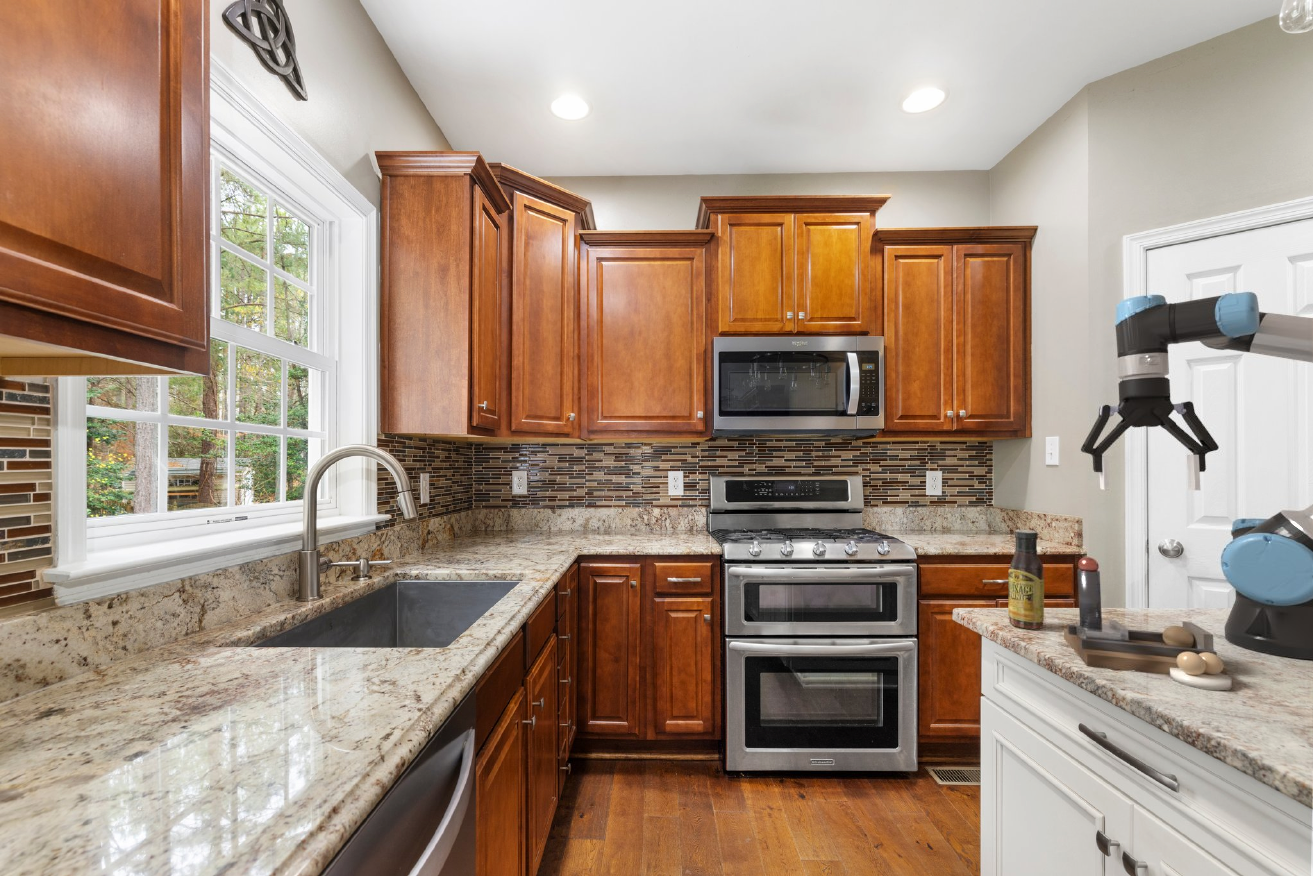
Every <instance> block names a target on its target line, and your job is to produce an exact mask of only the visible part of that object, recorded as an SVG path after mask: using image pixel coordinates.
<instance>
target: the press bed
mask: <svg viewBox="0 0 1313 876" xmlns="http://www.w3.org/2000/svg"><path fill="white" fill-rule="evenodd" d="M1181 622H1182V623H1181V624H1182V627H1183V628H1185V629H1187V630H1188V631H1189V632H1190V633H1191V634H1192V635H1193V638H1194V644H1193V646H1192V647H1191V648H1186V647H1175V646H1168V645H1167V644H1166V643H1165V641H1164V640H1163V632H1161V631H1160V632H1159V631H1150V630H1149V631H1148V630H1135V629H1128V641H1129V642H1119V641H1108V640H1097V639H1086V638H1080V637H1079V636H1078V635H1077V629H1076V624H1067V628H1063V639H1064V640H1065V642H1066V643H1067V644H1068V645H1069V646H1070V648H1071V649H1072V650H1073V649H1074V650H1073V652H1075V654H1076V655H1077V656H1078V657H1079V658H1080V659H1081V660H1082V661H1083V663H1084V664H1085V665H1086V666H1087V667H1092V668H1100V667H1101V669H1102V668H1103V669H1111V670H1119V669H1122V670H1121V671H1129V670H1135V671H1134V672H1138V671H1140V673H1148V672H1149V674H1157V675H1158V674H1159V675H1167V674H1170V668H1171V667H1172V668H1179V667H1178V665H1177V662H1176V659H1177V656H1178V655H1179V654H1180V653H1183V652H1193V653H1196V654H1200V653H1203V652H1209V653H1213V654H1215V655H1217V656H1218V652H1217V651H1216V650H1214V649H1215V647H1214V634H1213V633H1211V632H1209V631H1208V630H1206V629H1204V628H1202V627H1200V626H1199V625H1197V624H1195V623H1194V622H1192V621H1184V620H1182V621H1181ZM1227 669H1228V668H1227V666H1224V667H1223V670H1222V671H1221V672H1220V673H1221V674H1224V675H1226V676H1228V670H1227ZM1150 672H1151V673H1150Z"/></svg>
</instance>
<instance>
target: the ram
mask: <svg viewBox="0 0 1313 876" xmlns="http://www.w3.org/2000/svg"><path fill="white" fill-rule="evenodd" d="M1077 567H1078V569H1077V584H1078V585H1077V586H1078V607H1079V608H1078V610H1079V612H1078V613H1079V614H1078V615H1079V620H1078V621H1077V620H1076V621H1075V625H1076V629H1077V635H1078V636H1079V637H1080V638H1086V639H1097V640H1108V641H1119V642H1129V641H1128V630H1129V629H1128V628H1126V627H1125V626H1124V625H1123V624H1122V623H1120V622H1119V621H1118V620H1117V619H1108V623H1103V618H1102V617H1103V615H1102V592H1101V591H1102V590H1101V572H1100V570H1099V569H1100V565H1099V562H1098V561H1097V560H1096V559H1094V558H1093V557H1090V556H1084V557H1081V558H1080V559H1079V561H1078V563H1077Z"/></svg>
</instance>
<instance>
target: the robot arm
mask: <svg viewBox="0 0 1313 876" xmlns="http://www.w3.org/2000/svg"><path fill="white" fill-rule="evenodd" d="M1115 310H1116V312H1115V315H1116V316H1115V324H1114V327H1115V333H1116V334H1115V336H1116V339H1115V340H1116V350H1117V351H1116V352H1117V354H1116V355H1117V358H1116V359H1117V378H1118V379H1120V381H1119V382H1118V405H1116V406H1115V405H1114V406H1113V405H1109V404H1104V405H1101V406H1099V407H1098V408H1099V410H1098V416H1097V419H1096V421H1095V423H1094V424H1093V426H1092V428H1091V430H1090V431H1089V433H1088V435H1087V437H1086V438H1085V440H1084V442H1083V443H1082V446H1081V448H1080V451H1081V452H1082V453H1085V454H1088V455H1091V457H1092V468H1093V469H1092V470H1093V471H1094V473H1099V489H1100V490H1105V491H1109V490H1110V476H1109V457H1108V455H1103V454H1104V453H1105V452H1107V450H1108V449H1110V447H1111V446H1112V445H1113V444H1114V443H1115V442H1116V441H1117V440H1118V439H1119V438H1120V437H1121V436H1122V435H1123V434H1124V433H1125V432H1126V431H1127V430H1128V429H1130V427H1133V428H1143V427H1146V428H1155V427H1157V428H1158V427H1159V426H1160V427H1161V428H1162V429H1164V430H1165V431H1166V432H1168V433H1169V434H1170V435H1171V436H1173V437H1174V438H1175V439H1176V440H1177V441H1178V442H1179V443H1181V444H1182V445H1183V446H1184V447H1185V448H1186V449H1187V450H1188V451H1190V452H1191V453H1192V454H1186V460H1187V461H1186V462H1187V463H1186V465H1187V481H1188V483H1187V484H1188V490H1189V491H1201V476H1200V475H1201V474H1200V473H1205V472H1206V469H1207V466H1206V465H1207V464H1206V455H1207V454H1208V453H1211V452H1215V451H1218V450H1219V448H1220V447H1219V445H1218V443H1217V442H1216V441H1215V439H1214V438H1213V437H1212V435H1211V433H1210V432H1209V431H1208V429H1207V427H1206V426H1205V424H1203V422H1202V421H1201V419H1200V418H1199V416H1198V415H1197V414H1196V412H1195V406H1194V403H1193V401H1190V400H1189V401H1184V402H1180V403H1174V404H1173V401H1172V400H1171V383H1170V379H1169V377H1166V376H1167V375H1169V374H1170V367H1169V366H1170V365H1169V364H1170V363H1169V345H1172V344H1173V345H1176V344H1177V345H1178V344H1183V343H1185V344H1186V343H1193V342H1200V343H1201V344H1202V345H1203V346H1205V347H1206V348H1209V349H1212V350H1216V351H1217V350H1219V351H1225V350H1226V351H1227V350H1230V351H1235V352H1236V351H1237V352H1241V353H1249V354H1256V355H1257V354H1258V355H1263V356H1269V357H1276V358H1282V359H1288V360H1294V361H1300V362H1307V363H1311V364H1313V317H1305V316H1297V315H1290V314H1289V315H1287V314H1280V313H1274V312H1263V311H1260V307H1259V300H1258V295H1256V293H1254V292H1252V291H1243V292H1237V293H1232V292H1231V293H1230V292H1229V293H1225V294H1222V295H1216V296H1209V297H1204V298H1198V299H1193V300H1187V301H1182V302H1181V301H1180V302H1173V303H1171V302H1170V303H1168V302H1167V301H1166V297H1165V296H1164V295H1161V294H1148V295H1140V296H1135V297H1134V296H1133V297H1130V298H1127V299H1124V300H1122V301H1120V302H1119V303H1118V304H1117V306H1116V309H1115ZM1173 411H1176V414H1178V415H1181V417H1182V418H1183V420H1184V422H1185V423H1186V425H1187V426H1188V428H1189V429H1190V431H1192V433H1193V435H1194V437H1196V439H1197V440H1198V441H1196V440H1195V439H1194V438H1193V437H1192V436H1191V435H1190V434H1189V433H1187V432H1186V431H1185V430H1184V429H1183V428H1181V427H1180V426H1179V424H1177V423H1176V422H1175V421H1174V420H1173V419H1172V418H1171V417H1170V415H1171V414H1172V413H1173ZM1115 413H1117V414H1118V415H1119V416H1120V417H1121V420H1120V421H1119V422H1118V423H1117V424H1116V426H1115V427H1114V428H1113V429H1112V430H1111V431H1110V432H1109V433H1108V434H1107V435H1106V436H1105V437H1104V438H1103V439H1102V440H1101V441H1100V442H1099V444H1098V445H1097V446H1095V445H1096V444H1097V441H1098V439H1099V438H1100V436H1101V434H1102V432H1103V431H1104V429H1105V427H1106V425H1107V423H1108V422H1109V419H1110V418H1111V417H1113V416H1114V414H1115ZM1231 526H1232V527H1231V528H1232V529H1231V530H1230V535H1231V536H1232V540H1231V541H1230V542H1228V543H1227V544H1226V546H1225V547H1224V548H1223V550H1222V553H1221V556H1220V566H1221V570H1222V573H1223V576H1224V577H1225V580H1226V581H1227V582H1228V584H1229V585H1230V586H1231V587H1233V589H1234V590H1235V601H1234V603H1233V605H1232V607H1231V610H1230V613H1229V615H1228V618H1227V620H1226V622H1225V625H1224V638H1225V640H1226V641H1227V642H1229V643H1231V644H1234V645H1236V646H1239V647H1241V648H1244V649H1249V650H1252V651H1255V652H1256V651H1257V652H1261V653H1266V654H1270V655H1277V656H1280V657H1288V658H1295V659H1302V660H1303V659H1304V660H1305V659H1306V660H1313V504H1311V505H1309V506H1308V507H1306V508H1305V509H1302V510H1290V509H1289V510H1288V509H1287V510H1286V509H1285V510H1284V509H1282V510H1280V511H1279V512H1277V513H1276V514H1274V515H1273V516H1271V517H1269V518H1238V519H1235V520H1234V521H1233V522H1232V525H1231Z"/></svg>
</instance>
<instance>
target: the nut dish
mask: <svg viewBox="0 0 1313 876" xmlns="http://www.w3.org/2000/svg"><path fill="white" fill-rule="evenodd" d="M1176 662H1177V665H1178V667H1179V668H1172V667H1171V668H1170V675H1169V678H1170V679H1171V680H1172V679H1173V680H1172V681H1174V682H1176V681H1177V683H1178V684H1181V685H1184V686H1187V685H1188V687H1191V686H1194V687H1193V688H1195V687H1196V689H1200V688H1202V689H1201V690H1205V689H1206V691H1214V690H1218V691H1217V692H1219V690H1227V691H1230V690H1232V689H1231V688H1233V687H1232V683H1233V682H1232V678H1231V677H1229V676H1228V675H1227V676H1226V675H1224V674H1221V673H1220V672H1221V671H1222V670H1223V667H1225V666H1224V662H1223V660H1222V659H1221V658H1220V657H1219V656H1218V654H1217V655H1215V654H1213V653H1209V652H1203V653H1200V654H1196V653H1193V652H1183V653H1180V654H1179V655H1178V656H1177V659H1176Z"/></svg>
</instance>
